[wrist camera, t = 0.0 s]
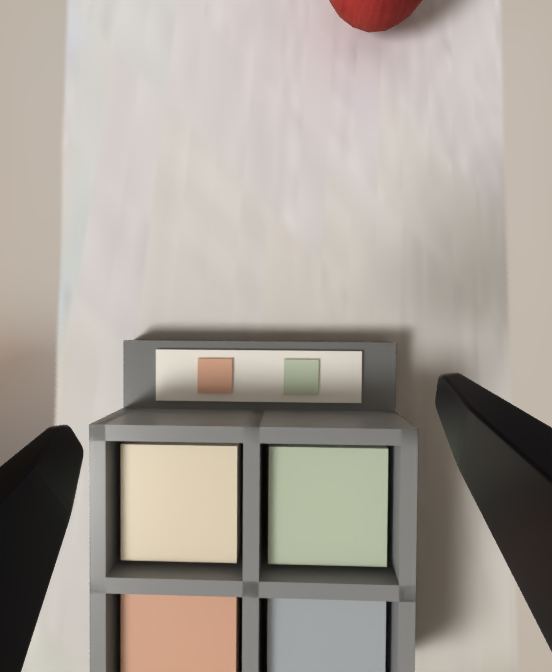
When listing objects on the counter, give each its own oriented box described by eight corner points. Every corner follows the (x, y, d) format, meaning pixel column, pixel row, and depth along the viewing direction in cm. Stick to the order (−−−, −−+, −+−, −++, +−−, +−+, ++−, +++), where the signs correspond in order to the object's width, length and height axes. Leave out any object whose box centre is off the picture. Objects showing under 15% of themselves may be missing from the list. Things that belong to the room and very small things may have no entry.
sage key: (379, 550, 21) (386, 566, 20) (269, 547, 21) (267, 563, 20) (381, 440, 21) (388, 448, 20) (270, 438, 21) (268, 446, 20)
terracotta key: (239, 682, 22) (235, 709, 20) (132, 679, 22) (120, 704, 20) (239, 575, 21) (236, 594, 20) (132, 572, 22) (120, 590, 20)
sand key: (240, 546, 21) (236, 563, 20) (132, 543, 22) (120, 560, 20) (240, 438, 21) (237, 446, 20) (132, 436, 21) (120, 444, 20)
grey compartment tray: (385, 659, 24) (413, 755, 19) (133, 651, 25) (90, 742, 19) (389, 341, 24) (419, 345, 19) (133, 339, 25) (89, 343, 19)
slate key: (377, 687, 21) (384, 714, 20) (268, 683, 22) (266, 710, 20) (379, 579, 21) (386, 598, 20) (269, 576, 21) (267, 595, 20)
